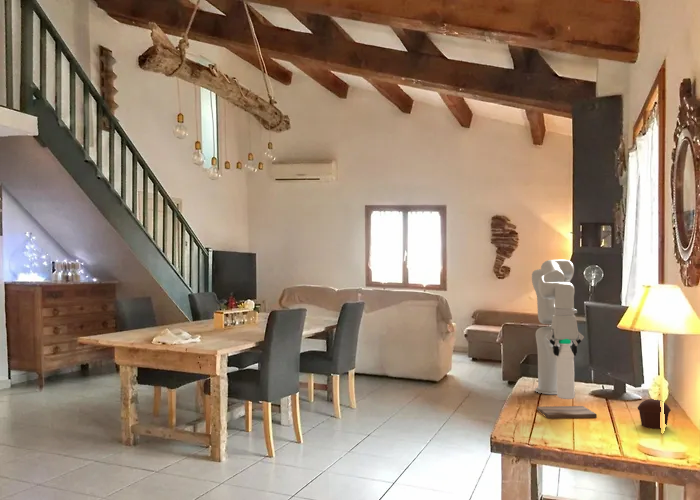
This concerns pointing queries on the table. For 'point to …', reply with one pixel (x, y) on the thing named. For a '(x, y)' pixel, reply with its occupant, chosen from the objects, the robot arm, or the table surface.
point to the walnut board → (566, 412)
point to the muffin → (652, 413)
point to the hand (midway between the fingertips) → (565, 354)
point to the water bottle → (565, 371)
